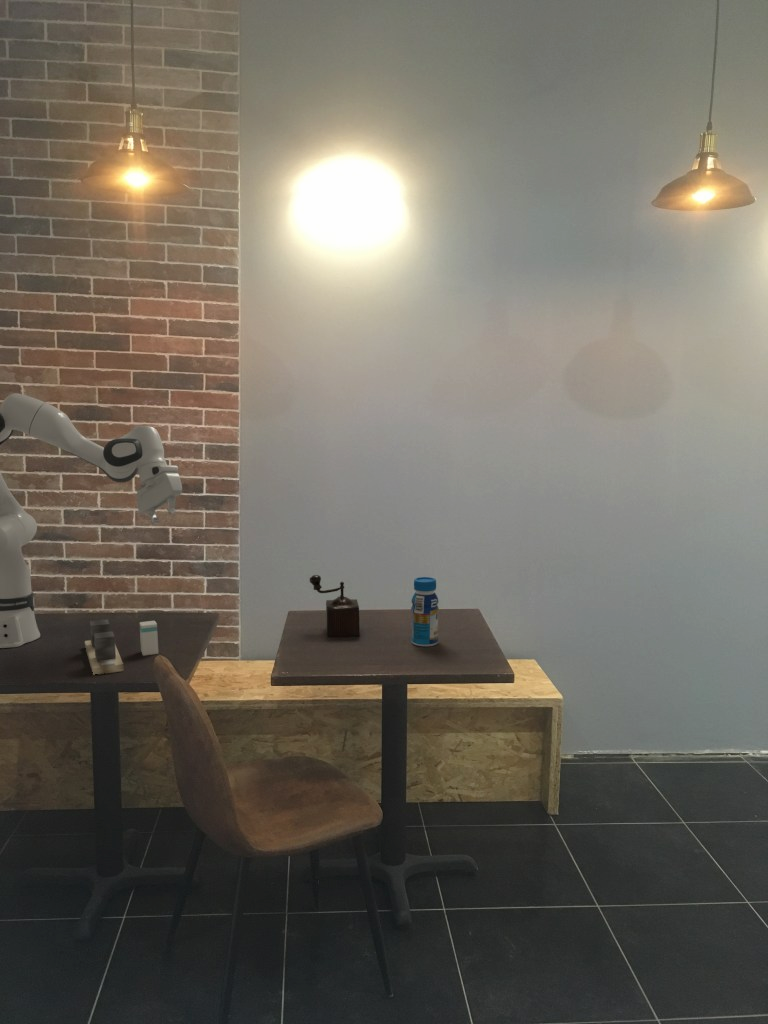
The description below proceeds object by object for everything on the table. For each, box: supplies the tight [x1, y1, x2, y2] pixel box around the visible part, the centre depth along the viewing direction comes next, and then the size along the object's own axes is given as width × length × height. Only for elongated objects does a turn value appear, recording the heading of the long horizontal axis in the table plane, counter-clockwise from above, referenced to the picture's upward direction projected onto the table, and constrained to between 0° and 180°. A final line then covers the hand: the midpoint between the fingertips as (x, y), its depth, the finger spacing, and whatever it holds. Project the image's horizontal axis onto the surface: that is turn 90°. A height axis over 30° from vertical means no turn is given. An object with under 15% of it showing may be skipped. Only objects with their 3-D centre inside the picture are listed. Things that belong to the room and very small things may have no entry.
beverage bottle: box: [410, 576, 440, 647], centre depth 250 cm, size 8×8×20 cm
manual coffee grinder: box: [309, 574, 361, 638], centre depth 262 cm, size 16×11×18 cm
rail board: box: [84, 619, 125, 676], centre depth 238 cm, size 8×26×9 cm, turn 24°
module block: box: [139, 620, 159, 657], centre depth 243 cm, size 4×4×9 cm
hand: (163, 518), depth 251 cm, fingers open, 8 cm apart
